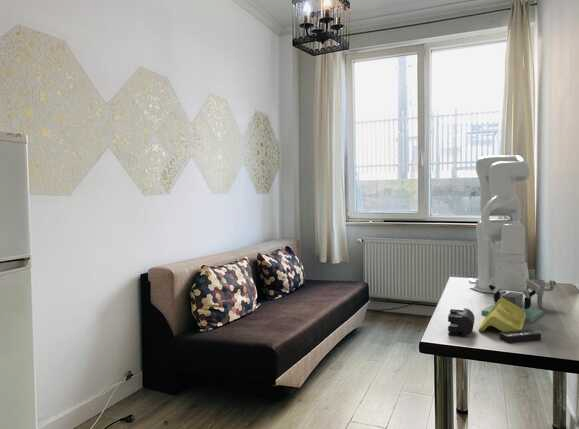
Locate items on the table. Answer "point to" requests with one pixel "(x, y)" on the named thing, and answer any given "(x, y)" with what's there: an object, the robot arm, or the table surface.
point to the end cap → (460, 322)
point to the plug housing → (514, 298)
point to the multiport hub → (520, 336)
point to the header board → (530, 313)
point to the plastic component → (504, 317)
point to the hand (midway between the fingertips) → (512, 306)
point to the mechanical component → (541, 289)
